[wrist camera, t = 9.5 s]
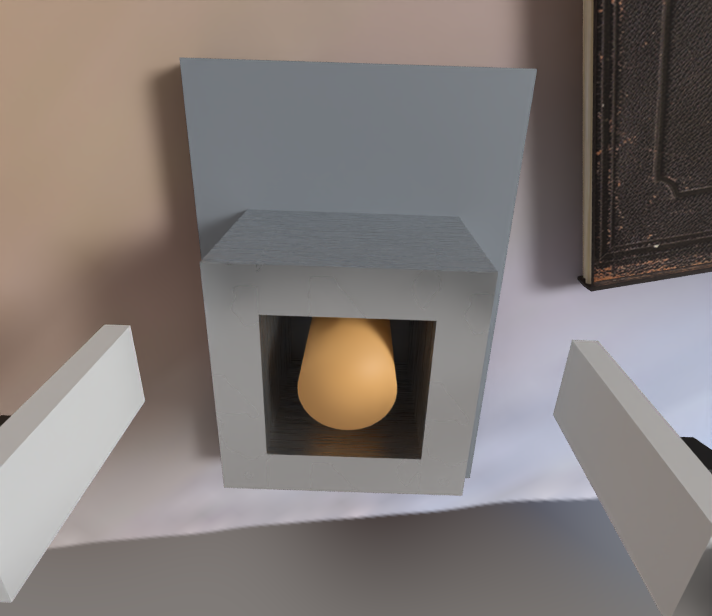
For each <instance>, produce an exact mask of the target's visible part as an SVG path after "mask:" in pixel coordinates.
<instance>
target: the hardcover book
mask: <svg viewBox="0 0 712 616" xmlns="http://www.w3.org/2000/svg"><path fill="white" fill-rule="evenodd" d="M706 272H712V0H583V276H578V280H579V281H580V283H581V284H582V285H583V286H584V287H586V288H587V289H588V290H590V291H597V290H603V289H609V288H615V287H621V286H627V285H633V284H639V283H645V282H651V281H657V280H664V279H670V278H676V277H682V276H688V275H694V274H700V273H706Z"/></svg>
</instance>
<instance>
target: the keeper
mask: <svg viewBox="0 0 712 616" xmlns="http://www.w3.org/2000/svg"><path fill="white" fill-rule="evenodd" d="M180 67H181V76H182V85H183V94H184V103H185V113H186V122H187V131H188V140H189V149H190V159H191V168H192V177H193V186H194V195H195V205H196V214H197V223H198V232H199V241H200V251H201V260H202V259H203V258H204V257H205V256H206V255H207V254H208V253H209V251H210V250H211V249H212V248H213V247H214V246H215V245H216V244H217V243H218V242H219V240H220V239H221V238H222V237H223V236H224V235H225V234H226V233H227V232H228V231H229V229H230V228H231V227H232V226H233V225H234V224H235V223H236V222H237V221H238V219H239V218H240V217H241V216H242V215H243V214H244V213H245V212H246V211H247V210H248V209H252V210H281V211H311V212H341V213H370V214H400V215H430V216H459V218H460V219H461V220H462V222H463V223H464V225H465V226H466V227H467V229H468V230H469V232H470V233H471V235H472V236H473V237H474V239H475V240H476V242H477V243H478V244H479V246H480V247H481V249H482V250H483V252H484V253H485V254H486V256H487V257H488V259H489V260H490V261H491V263H492V264H493V266H494V267H495V269H496V270H497V271H498V277H497V283H496V289H495V295H494V302H493V308H492V314H491V320H490V326H489V332H488V339H487V345H486V351H485V357H484V363H483V369H482V376H481V382H480V388H479V394H478V400H477V406H476V413H475V419H474V425H473V431H472V437H471V443H470V450H469V456H468V462H467V468H466V474H465V478H470V473H471V467H472V461H473V455H474V449H475V443H476V437H477V431H478V425H479V419H480V413H481V407H482V400H483V394H484V388H485V382H486V376H487V370H488V364H489V358H490V352H491V346H492V340H493V334H494V328H495V322H496V316H497V310H498V303H499V297H500V291H501V285H502V279H503V273H504V267H505V261H506V255H507V249H508V243H509V237H510V231H511V225H512V219H513V213H514V206H515V200H516V194H517V188H518V182H519V176H520V170H521V164H522V158H523V152H524V146H525V140H526V134H527V128H528V122H529V115H530V109H531V103H532V97H533V91H534V85H535V79H536V73H537V69H524V68H493V67H461V66H429V65H398V64H366V63H334V62H303V61H271V60H239V59H208V58H180ZM290 326H291V359H303V361H302V366H301V370H300V375H299V380H298V388H297V389H298V396H299V399H300V402H301V404H302V406H303V408H304V409H305V410H306V412H307V413H308V414H309V415H310V416H311V417H312V418H313V419H315V420H316V421H318V422H319V423H321V424H323V425H325V426H328V427H331V428H334V429H340V430H356V429H362V428H365V427H368V426H371V425H373V424H375V423H377V422H378V421H380V420H381V419H382V418H383V417H385V416H386V415H387V413H388V412H389V411H390V410H391V408H392V406H393V404H394V402H395V399H396V395H397V382H396V373H395V364H394V362H396V363H407V352H408V340H409V328H410V320H398V319H369V318H339V317H309V316H290Z"/></svg>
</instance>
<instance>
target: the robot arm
mask: <svg viewBox="0 0 712 616" xmlns="http://www.w3.org/2000/svg"><path fill="white" fill-rule="evenodd" d="M144 402H145V398H144V393H143V387H142V382H141V377H140V372H139V367H138V362H137V357H136V352H135V347H134V342H133V336H132V331H131V326H130V325H106V324H105V325H104V326H103V327H102V328H100V329H99V330H98V331H97V332H96V333H95V334H94V335H93V336H92V337H91V338H90V339H89V340H88V341H87V342H86V343H85V344H84V345H83V346H82V347H81V348H80V349H79V350H78V351H77V352H76V353H75V354H74V355H73V356H72V357H71V358H70V359H69V360H68V361H67V362H66V363H65V364H64V365H63V366H62V367H61V368H60V369H59V370H58V371H57V372H56V373H55V374H54V375H53V376H52V377H51V378H50V379H49V380H47V381H46V382H45V383H44V384H43V385H42V386H41V387H40V388H39V389H38V390H37V391H36V392H35V393H34V394H33V395H32V396H31V397H30V398H29V399H28V400H27V401H26V402H25V403H24V404H23V405H22V406H21V407H20V408H19V409H18V410H17V411H16V412H15V413H14V414H13V415H12V416H6V415H1V416H0V602H12V601H13V599H14V598H15V596H16V595H17V593H18V592H19V590H20V589H21V587H22V586H23V584H24V583H25V581H26V580H27V578H28V577H29V575H30V574H31V572H32V571H33V569H34V568H35V566H36V565H37V563H38V562H39V560H40V559H41V557H42V556H43V554H44V553H45V551H46V550H47V548H48V547H49V545H50V544H51V542H52V541H53V539H54V538H55V536H56V535H57V533H58V532H59V530H60V529H61V527H62V526H63V524H64V523H65V521H66V520H67V518H68V517H69V515H70V514H71V512H72V510H73V509H74V507H75V506H76V504H77V503H78V501H79V500H80V498H81V497H82V495H83V494H84V492H85V491H86V489H87V488H88V486H89V485H90V483H91V482H92V480H93V479H94V477H95V476H96V474H97V473H98V471H99V470H100V468H101V467H102V465H103V464H104V462H105V461H106V459H107V458H108V456H109V455H110V453H111V452H112V450H113V449H114V447H115V446H116V444H117V443H118V441H119V440H120V438H121V437H122V435H123V434H124V432H125V431H126V429H127V428H128V426H129V425H130V423H131V422H132V420H133V418H134V417H135V415H136V414H137V412H138V411H139V409H140V408H141V406H142V405H143V403H144ZM553 415H554V417H555V419H556V421H557V423H558V425H559V427H560V428H561V430H562V432H563V434H564V436H565V438H566V439H567V441H568V443H569V445H570V447H571V449H572V451H573V452H574V454H575V456H576V458H577V460H578V462H579V463H580V465H581V467H582V469H583V471H584V473H585V474H586V476H587V478H588V480H589V482H590V484H591V486H592V487H593V489H594V491H595V493H596V495H597V497H598V498H599V500H600V502H601V504H602V506H603V508H604V510H605V511H606V513H607V515H608V517H609V519H610V521H611V522H612V524H613V526H614V528H615V530H616V532H617V534H618V535H619V537H620V539H621V541H622V543H623V544H624V546H625V548H626V550H627V552H628V554H629V556H630V558H631V559H632V561H633V563H634V565H635V567H636V569H637V570H638V572H639V574H640V576H641V578H642V580H643V581H644V583H645V585H646V587H647V589H648V591H649V593H650V594H651V596H652V598H653V600H654V602H655V604H656V606H657V607H658V609H659V611H660V613H661V615H662V616H712V450H711V449H710V448H708V447H707V446H705V445H704V444H702V443H701V442H699V441H698V440H697V439H695V438H694V437H680V436H679V435H678V434H677V433H676V432H675V431H674V429H673V428H672V427H671V426H670V425H669V424H668V422H667V421H666V420H665V419H664V418H663V417H662V415H661V414H660V413H659V412H658V411H657V409H656V408H655V407H654V406H653V405H652V404H651V402H650V401H649V400H648V399H647V398H646V397H645V395H644V394H643V393H642V392H641V391H640V390H639V388H638V387H637V386H636V385H635V384H634V383H633V381H632V380H631V379H630V378H629V377H628V375H627V374H626V373H625V372H624V371H623V370H622V368H621V367H620V366H619V365H618V364H617V363H616V361H615V360H614V359H613V358H612V357H611V356H610V354H609V353H608V352H607V351H606V350H605V349H604V347H603V346H602V345H601V344H600V343H599V342H598V341H586V340H572V342H571V346H570V350H569V354H568V358H567V362H566V366H565V370H564V374H563V378H562V382H561V386H560V390H559V394H558V397H557V401H556V405H555V409H554V413H553Z"/></svg>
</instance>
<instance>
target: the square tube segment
mask: <svg viewBox="0 0 712 616" xmlns="http://www.w3.org/2000/svg"><path fill="white" fill-rule="evenodd" d="M200 270H201V280H202V289H203V298H204V307H205V316H206V326H207V335H208V344H209V353H210V362H211V372H212V381H213V390H214V399H215V408H216V418H217V427H218V436H219V445H220V455H221V464H222V473H223V482H224V488H248V489H278V490H308V491H338V492H367V493H397V494H427V495H457V496H462V493H463V487H464V480H465V474H466V468H467V462H468V456H469V450H470V443H471V437H472V431H473V425H474V419H475V413H476V406H477V400H478V394H479V388H480V382H481V376H482V369H483V363H484V357H485V351H486V345H487V339H488V332H489V326H490V320H491V314H492V308H493V302H494V295H495V289H496V283H497V277H498V271H497V270H496V269H495V267H494V266H493V264H492V263H491V261H490V260H489V259H488V257H487V256H486V254H485V253H484V252H483V250H482V249H481V247H480V246H479V244H478V243H477V242H476V240H475V239H474V237H473V236H472V235H471V233H470V232H469V230H468V229H467V227H466V226H465V225H464V223H463V222H462V220H461V219H460V218H459V216H430V215H400V214H370V213H341V212H311V211H281V210H252V209H248V210H247V211H246V212H245V213H244V214H243V215H242V216H241V217H240V218H239V219H238V221H237V222H236V223H235V224H234V225H233V226H232V227H231V228H230V229H229V231H228V232H227V233H226V234H225V235H224V236H223V237H222V238H221V239H220V240H219V242H218V243H217V244H216V245H215V246H214V247H213V248H212V249H211V250H210V251H209V253H208V254H207V255H206V256H205V257H204V258H203V259H202V260H201V261H200ZM290 316H309V317H339V318H369V319H398V320H410V328H409V340H408V352H407V363H396V362H394V364H395V373H396V382H397V395H396V399H395V402H394V404H393V406H392V408H391V410H390V411H389V412H388V413H387V415H386V416H385V417H383V418H382V419H381V420H380V421H378V422H377V423H375V424H373V425H371V426H368V427H365V428H362V429H356V430H340V429H334V428H331V427H328V426H325V425H323V424H321V423H319V422H318V421H316V420H315V419H313V418H312V417H311V416H310V415H309V414H308V413H307V412H306V410H305V409H304V408H303V406H302V404H301V402H300V399H299V396H298V389H297V388H298V380H299V375H300V370H301V366H302V361H303V359H291V326H290Z"/></svg>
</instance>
